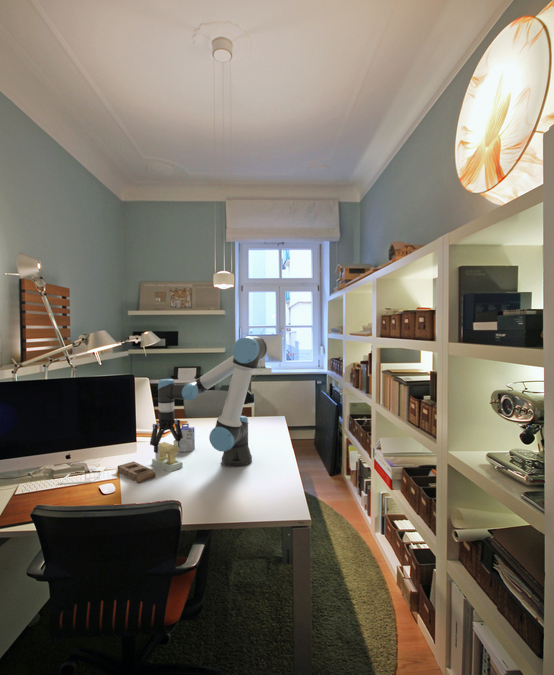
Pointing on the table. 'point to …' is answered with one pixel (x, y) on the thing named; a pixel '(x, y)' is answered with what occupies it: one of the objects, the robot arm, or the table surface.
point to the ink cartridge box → (187, 439)
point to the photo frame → (85, 481)
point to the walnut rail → (136, 472)
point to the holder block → (165, 465)
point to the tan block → (168, 452)
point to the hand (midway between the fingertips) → (167, 456)
